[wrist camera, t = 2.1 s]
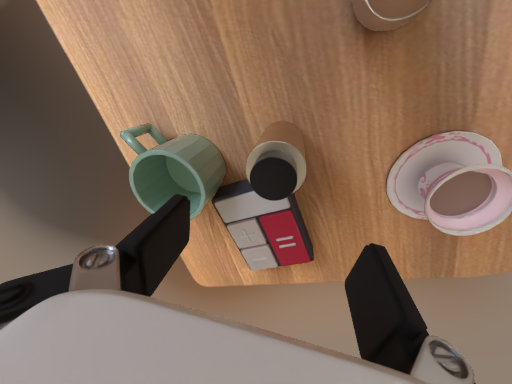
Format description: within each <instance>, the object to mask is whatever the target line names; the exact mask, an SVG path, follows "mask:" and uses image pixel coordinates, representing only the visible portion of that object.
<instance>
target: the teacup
mask: <svg viewBox="0 0 512 384" xmlns="http://www.w3.org/2000/svg"><path fill="white" fill-rule="evenodd" d="M502 165H503V164H502V159H501V154H500V150H499V149H498V148H497V147H496V146H495V144H494V143H493V142H492V141H491V140H490V139H488V138H486V137H484V136H482V135H479V134H477V133H475V132H465V131H451V132H445V133H440V134H435V135H433V136H431V137H428V138H426V139H424V140H422V141H419V142H417V143H416V144H415V145H413V146H412V147H411V148H409V149H408V150H407V151H405V152H404V153H403V154H402V155H401V156H400V157H399V159H398V160H397V161H396V162H395V164H394V165H393V166H392V168H391V170H390V173H389V175H388V178H387V195H388V197H389V200H390V202H391V204H392V205H393V206H394V207H395V208H396V209H397V210H398V211H399V212H400V213H403V214H405V215H407V216H409V217H412V218H417V219H424V220H429V221H430V222H431V224H432V225H433V226H434V227H435V228H437V229H438V230H440V231H442V232H444V233H447V234H450V235H457V236H467V235H474V234H478V233H481V232H484V231H487V230H489V229H491V228H493V227H495V226H496V225H498V224H499V223H501V222H502V221H503V220H504V219H506V218H507V217H508V216H509V214H510V213H511V212H512V172H511V171H510V170H509V169H507V168H505V167H503V166H502Z"/></svg>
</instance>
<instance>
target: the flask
mask: <svg viewBox="0 0 512 384" xmlns="http://www.w3.org/2000/svg"><path fill="white" fill-rule="evenodd" d="M245 169H246V176H247V179H248V181H249V183H250V184H251V187H252V189H253V190H254V191H255V193H256V194H257V195H259V196H260V197H262V198H264V199H266V200H271V201H278V200H282V199H285V198H287V197H288V196H290V195H291V194H292V193H294V192H295V191H297V190H298V189H299V188H300V187H301V185H302V184H303V182H304V180H305V177H306V159H305V150H304V140H303V135H302V133H301V131H300V130H299V128H298V127H297V126H296V125H294V124H292V123H290V122H287V121H279V122H275V123H273V124H271V125H270V126H268V127H267V128H266V130H265V131H264V132H263V134H262V136H261V137H260V139H259V140H258V142H257V143H256V145H255V146H254V148H253V150H252V151H251V153H250V154H249V156H248V158H247V161H246V168H245Z"/></svg>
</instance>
